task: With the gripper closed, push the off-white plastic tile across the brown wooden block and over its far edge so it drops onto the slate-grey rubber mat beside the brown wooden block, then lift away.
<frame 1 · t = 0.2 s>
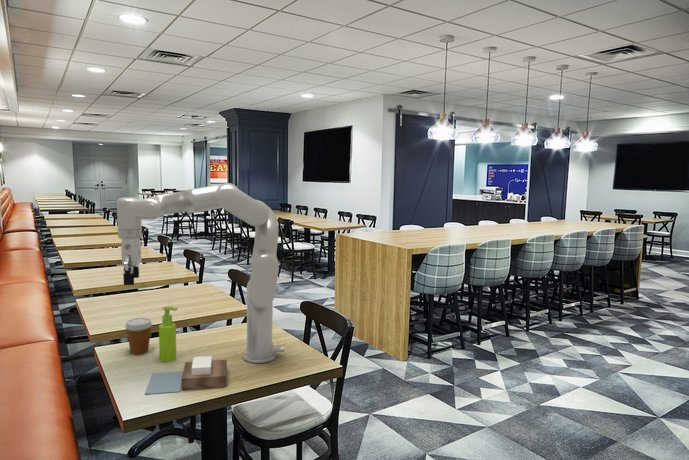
hand: (131, 281, 167), 31 cm above the table, tool pointing down, fingers open, 9 cm apart
soap dispenser: (169, 359, 177), on the table
mat: (165, 382, 158), on the table
disposable coffee cup: (139, 351, 183), on the table
tile: (202, 368, 160), point 4 cm above the table, touching brown wooden block
brown wooden block: (205, 379, 161), on the table
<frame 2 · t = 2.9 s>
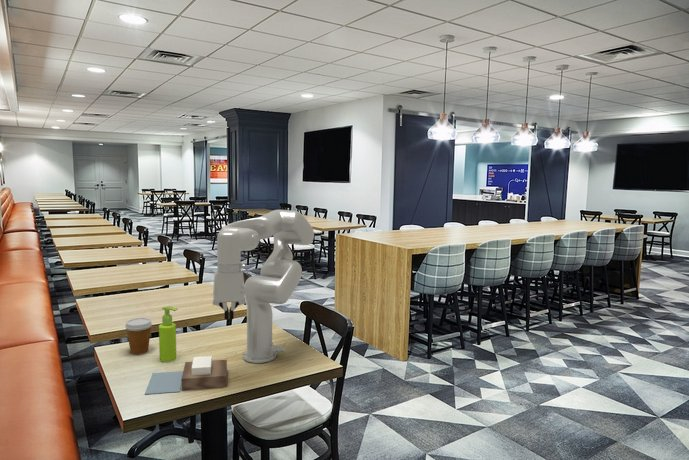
hand: (229, 321, 160), 20 cm above the table, tool pointing down, fingers closed
nothing on the table moved.
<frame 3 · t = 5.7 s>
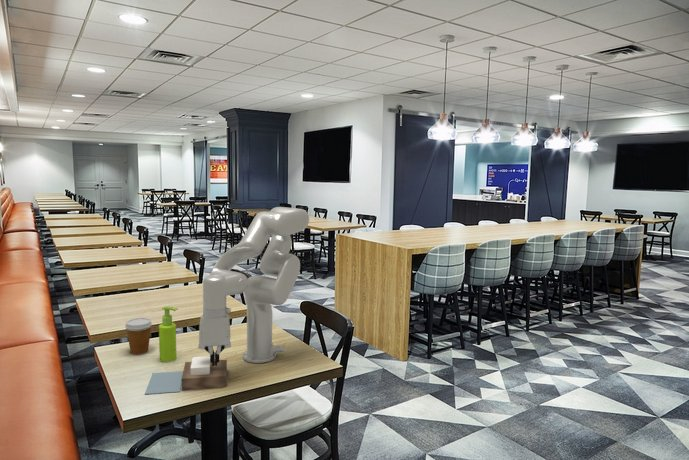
hand: (214, 364, 161), 5 cm above the table, tool pointing down, fingers closed
tile: (201, 368, 160), point 4 cm above the table, touching gripper
everything else where it was.
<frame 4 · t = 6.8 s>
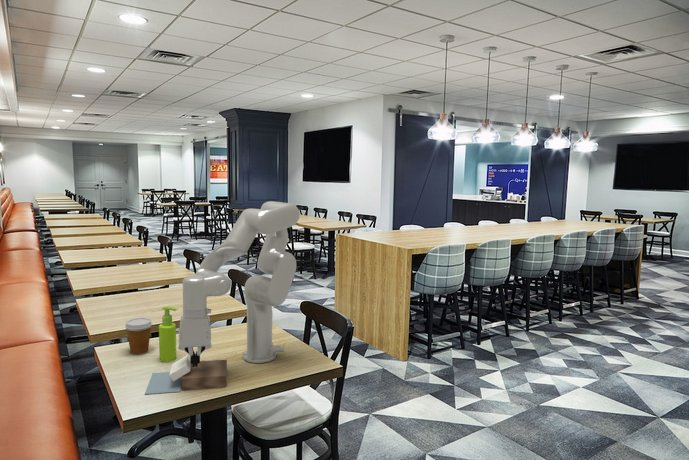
hand: (195, 365, 159), 5 cm above the table, tool pointing down, fingers closed
tile: (183, 370, 159), point 4 cm above the table, tilted 30°, touching brown wooden block
everything else where it was.
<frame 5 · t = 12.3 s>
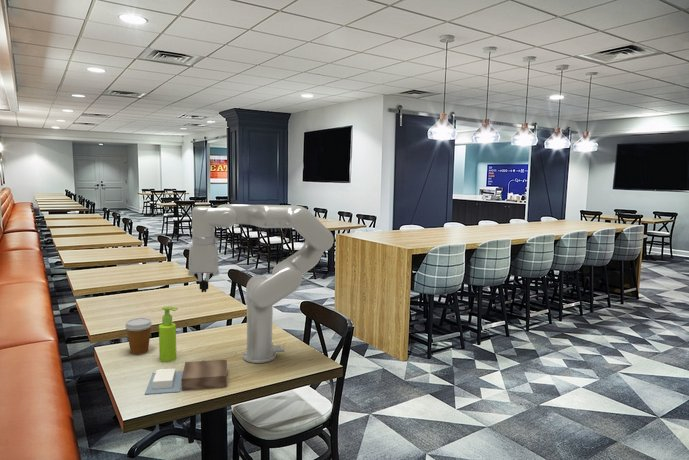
hand: (204, 291, 171), 27 cm above the table, tool pointing down, fingers closed
tile: (164, 374, 158), point 3 cm above the table, tilted 180°, touching mat
everything else where it was.
at the end: tile inside the target area (0.2 cm from its centre), point 2.8 cm above the table; tile touching mat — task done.
